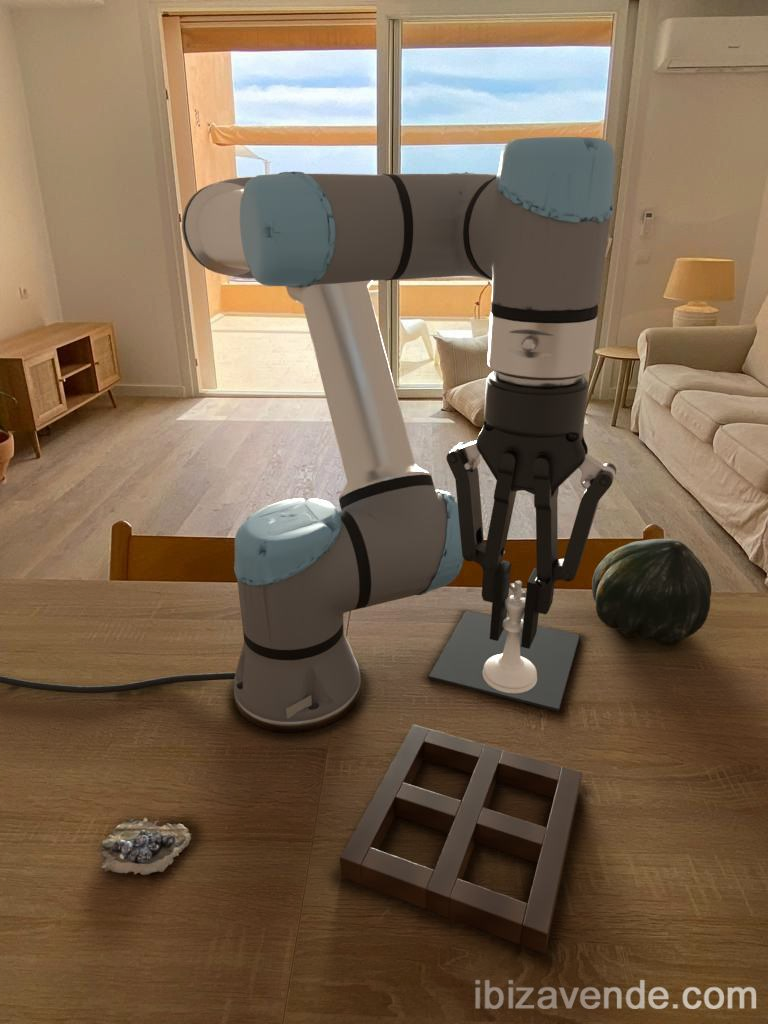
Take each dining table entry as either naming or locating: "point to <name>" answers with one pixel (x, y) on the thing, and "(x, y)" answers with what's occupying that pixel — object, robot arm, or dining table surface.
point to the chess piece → (511, 651)
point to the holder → (468, 835)
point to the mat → (475, 648)
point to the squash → (653, 590)
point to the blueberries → (143, 846)
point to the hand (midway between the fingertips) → (513, 635)
